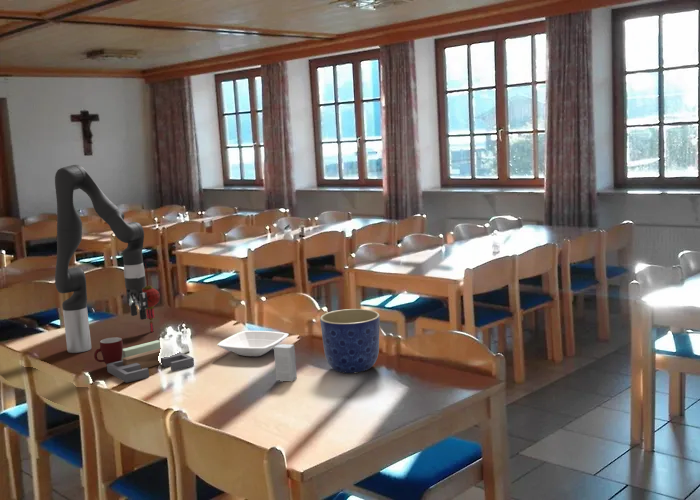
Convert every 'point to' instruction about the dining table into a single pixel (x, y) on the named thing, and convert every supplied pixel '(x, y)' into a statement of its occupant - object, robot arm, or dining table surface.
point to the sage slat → (140, 348)
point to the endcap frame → (136, 373)
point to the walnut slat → (143, 359)
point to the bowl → (252, 342)
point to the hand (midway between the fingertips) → (138, 317)
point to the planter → (351, 339)
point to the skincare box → (285, 362)
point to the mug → (110, 350)
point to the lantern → (151, 301)
